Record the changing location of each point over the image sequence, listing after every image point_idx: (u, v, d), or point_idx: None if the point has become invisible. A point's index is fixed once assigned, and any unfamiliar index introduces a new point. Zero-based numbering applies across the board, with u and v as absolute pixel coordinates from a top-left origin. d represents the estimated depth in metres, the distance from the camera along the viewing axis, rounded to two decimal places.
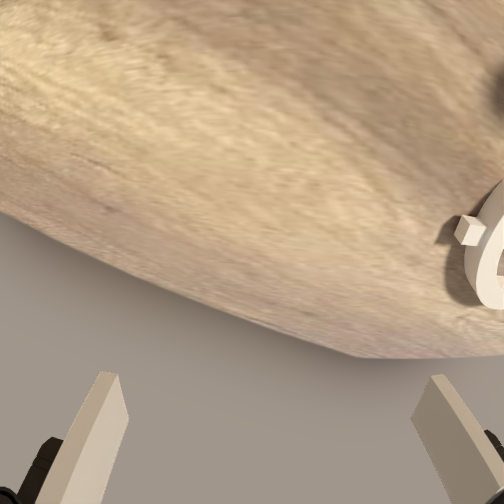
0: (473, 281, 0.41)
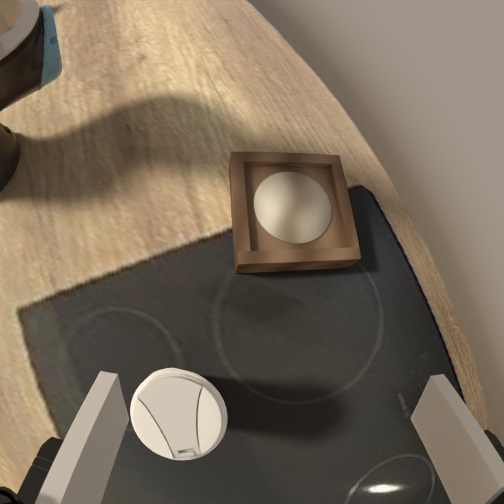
0: None
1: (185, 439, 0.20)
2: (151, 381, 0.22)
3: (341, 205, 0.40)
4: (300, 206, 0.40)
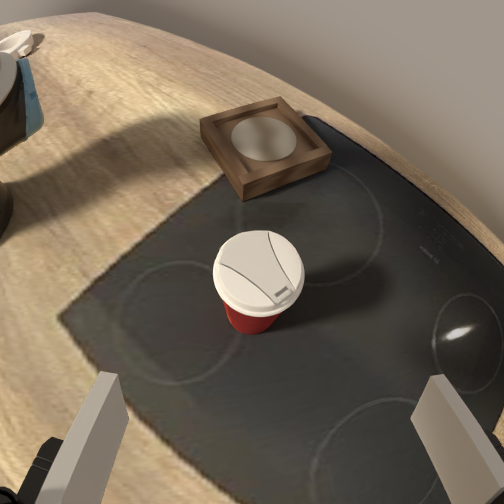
0: (30, 36, 0.70)
1: (276, 280, 0.25)
2: (224, 247, 0.27)
3: (299, 125, 0.48)
4: (269, 136, 0.47)
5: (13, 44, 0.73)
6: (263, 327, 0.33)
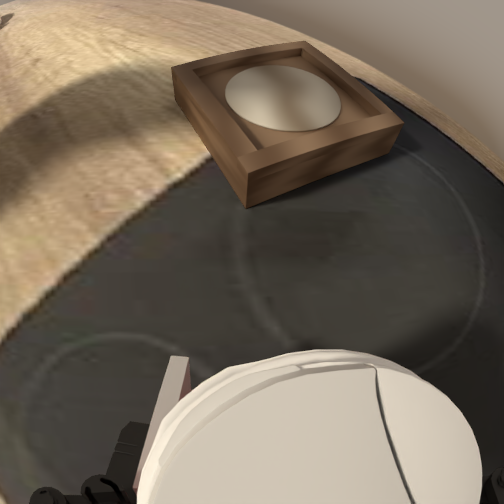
0: None
1: None
2: (170, 450, 0.05)
3: (341, 78, 0.26)
4: (293, 91, 0.25)
5: None
6: None
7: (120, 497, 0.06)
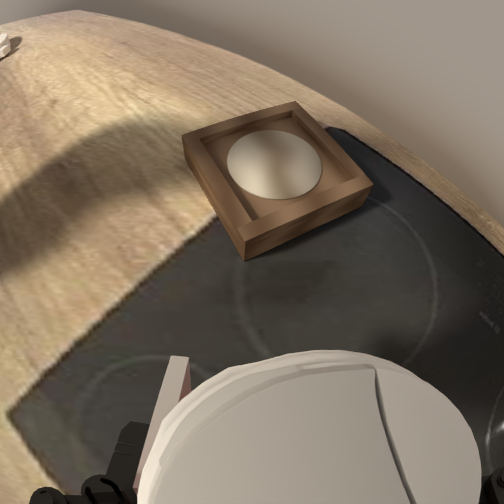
0: (7, 38, 0.58)
1: None
2: (170, 450, 0.05)
3: (324, 142, 0.34)
4: (282, 159, 0.33)
5: None
6: None
7: (120, 497, 0.06)
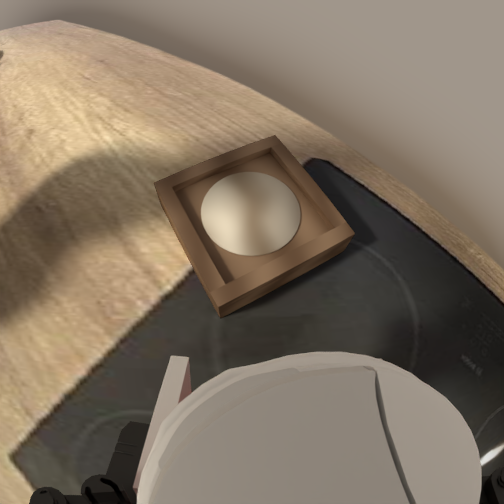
0: None
1: None
2: (170, 452, 0.05)
3: (303, 186, 0.33)
4: (259, 207, 0.32)
5: None
6: None
7: (120, 497, 0.06)
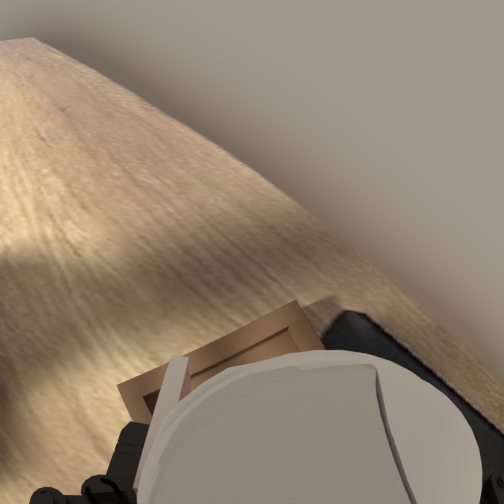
0: None
1: None
2: (170, 450, 0.05)
3: None
4: None
5: None
6: None
7: (120, 497, 0.06)
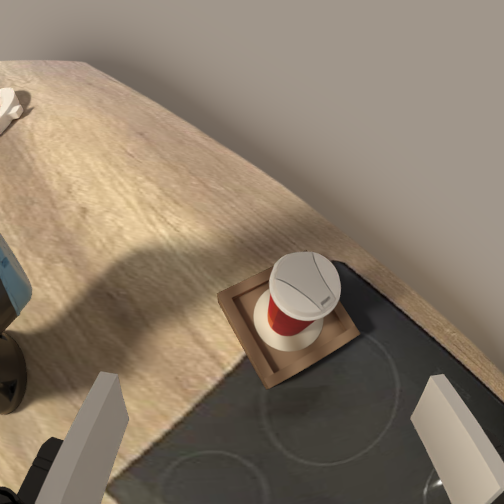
0: (15, 95, 0.68)
1: (321, 291, 0.32)
2: (278, 265, 0.33)
3: None
4: None
5: None
6: (302, 329, 0.39)
7: None
